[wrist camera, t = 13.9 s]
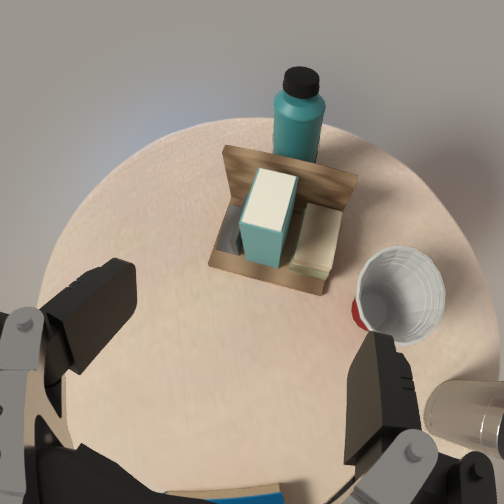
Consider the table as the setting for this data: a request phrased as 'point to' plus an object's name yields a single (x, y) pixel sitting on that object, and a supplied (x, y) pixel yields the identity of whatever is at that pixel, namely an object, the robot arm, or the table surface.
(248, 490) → the book
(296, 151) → the beverage bottle
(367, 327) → the plastic cup
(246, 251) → the teal book
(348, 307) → the table surface
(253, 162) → the shelf
